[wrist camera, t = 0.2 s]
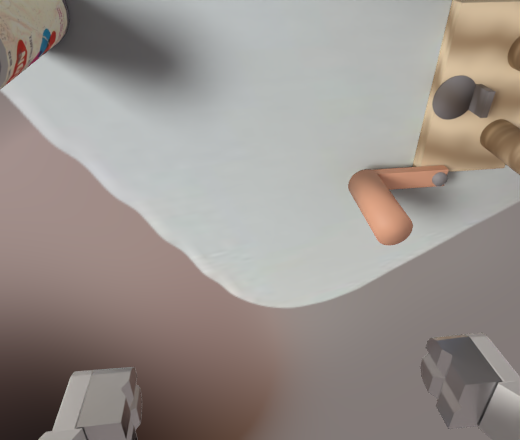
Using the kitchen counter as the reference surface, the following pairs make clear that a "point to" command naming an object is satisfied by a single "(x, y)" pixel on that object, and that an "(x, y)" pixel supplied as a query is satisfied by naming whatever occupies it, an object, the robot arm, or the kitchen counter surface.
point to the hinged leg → (391, 197)
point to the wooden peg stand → (475, 90)
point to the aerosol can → (28, 33)
